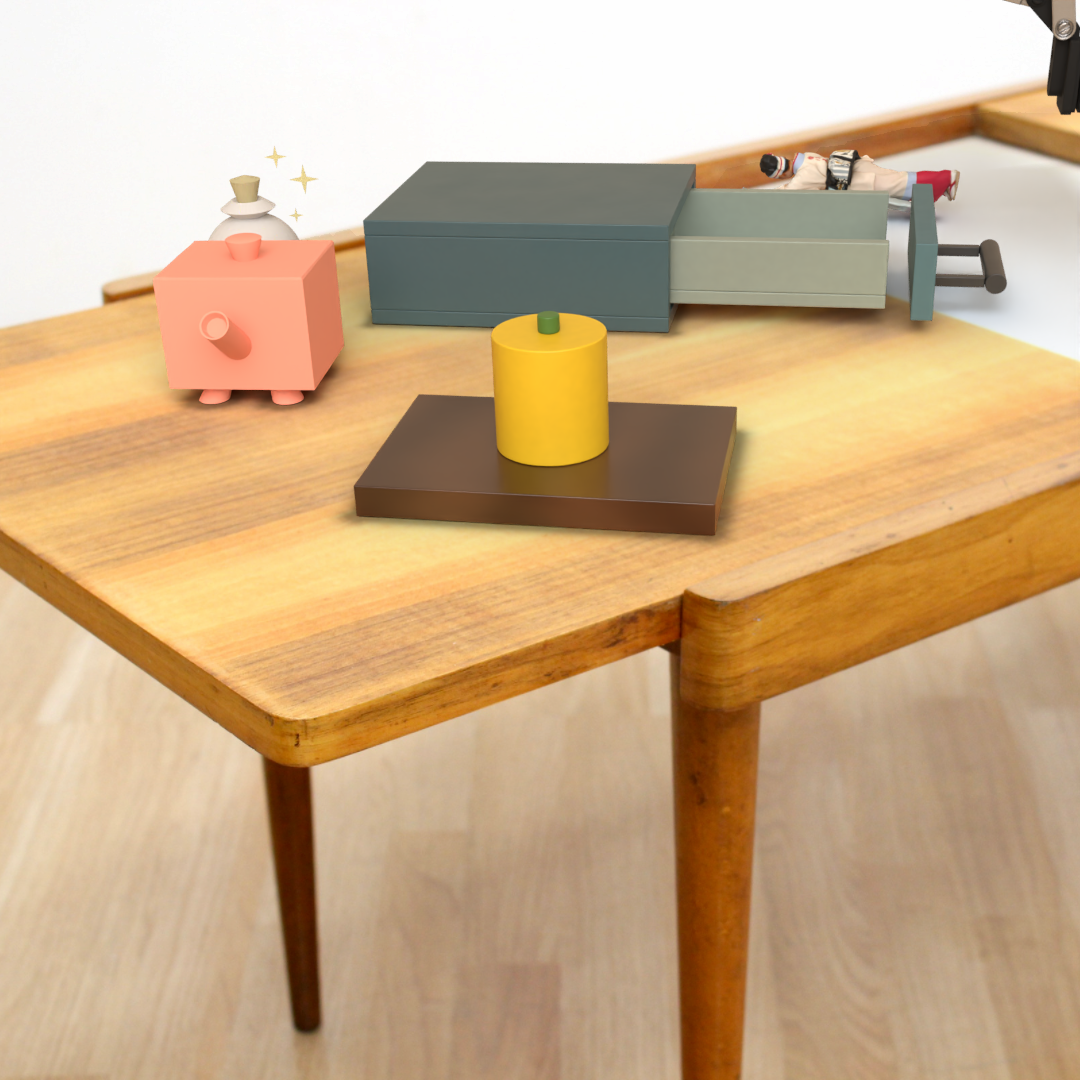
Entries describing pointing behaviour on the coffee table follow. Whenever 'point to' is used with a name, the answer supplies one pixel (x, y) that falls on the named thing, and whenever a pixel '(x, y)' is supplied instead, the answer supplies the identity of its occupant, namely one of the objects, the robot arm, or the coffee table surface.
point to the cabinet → (527, 243)
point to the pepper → (550, 388)
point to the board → (554, 470)
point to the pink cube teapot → (250, 316)
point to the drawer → (811, 250)
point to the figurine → (856, 176)
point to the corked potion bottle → (255, 210)
